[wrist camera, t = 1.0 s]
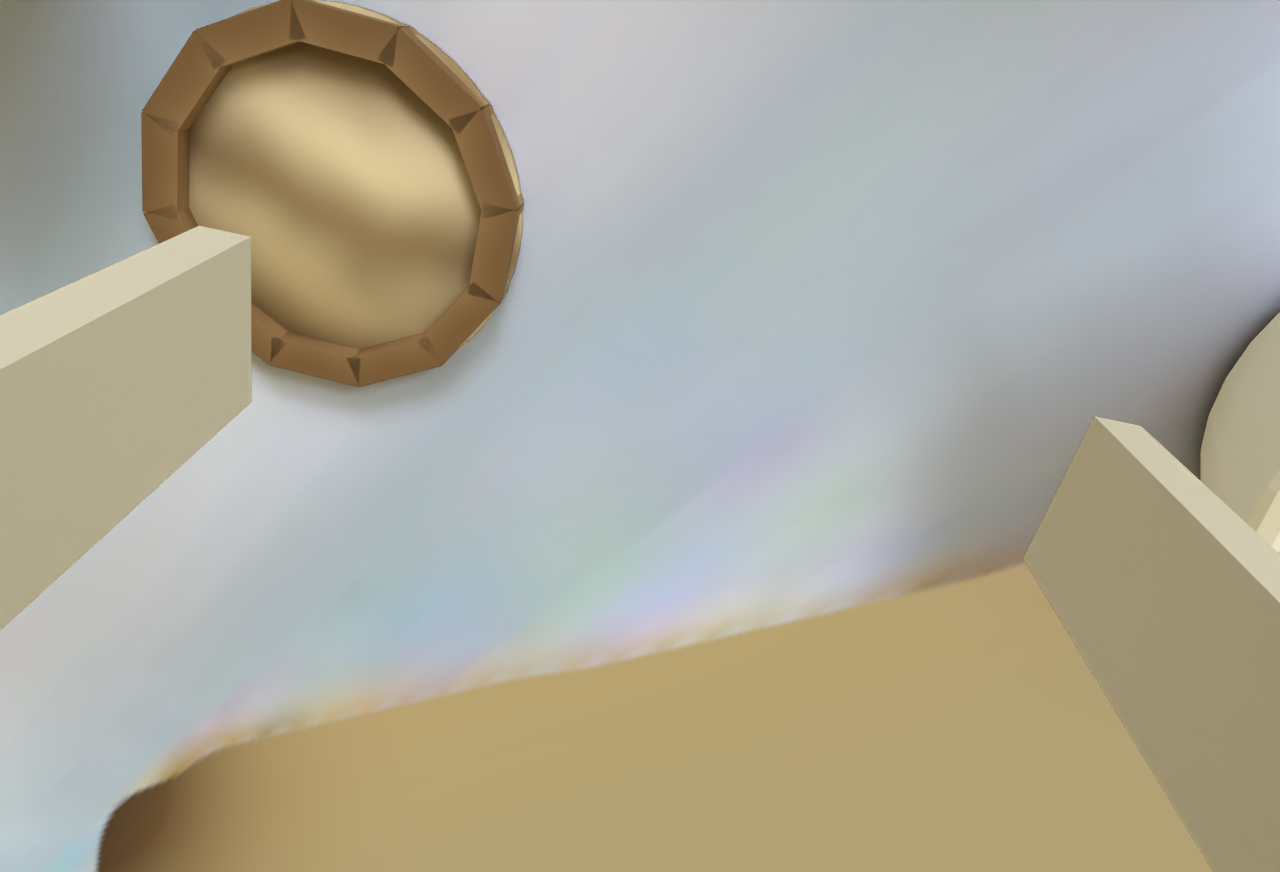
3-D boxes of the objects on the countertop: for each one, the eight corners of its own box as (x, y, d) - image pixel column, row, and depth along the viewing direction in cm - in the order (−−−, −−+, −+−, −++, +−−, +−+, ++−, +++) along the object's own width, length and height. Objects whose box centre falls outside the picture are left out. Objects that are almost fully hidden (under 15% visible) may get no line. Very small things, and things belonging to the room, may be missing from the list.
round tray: (159, -49, 34) (133, -52, 33) (555, 60, 36) (549, 62, 34) (161, 324, 42) (140, 337, 40) (490, 405, 43) (482, 421, 41)
